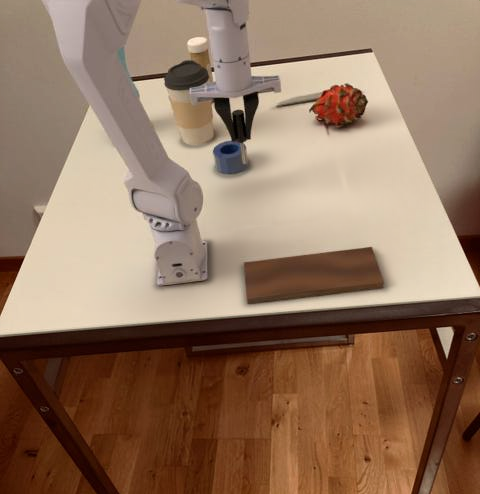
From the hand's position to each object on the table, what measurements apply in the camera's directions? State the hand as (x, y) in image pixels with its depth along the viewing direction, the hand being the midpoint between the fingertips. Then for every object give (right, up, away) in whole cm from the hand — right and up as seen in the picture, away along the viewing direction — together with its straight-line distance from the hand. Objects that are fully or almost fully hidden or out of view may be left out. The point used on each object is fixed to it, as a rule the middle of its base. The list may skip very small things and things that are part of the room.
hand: (241, 137), depth 88 cm
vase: (-25, +11, +29) cm, 40 cm away
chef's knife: (+17, +19, +29) cm, 38 cm away
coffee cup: (-9, +8, +23) cm, 26 cm away
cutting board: (+11, -25, -10) cm, 29 cm away
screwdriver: (+1, -3, +3) cm, 4 cm away
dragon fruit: (+21, +10, +20) cm, 30 cm away
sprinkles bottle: (-8, +22, +35) cm, 42 cm away
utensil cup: (-2, -1, +13) cm, 13 cm away
